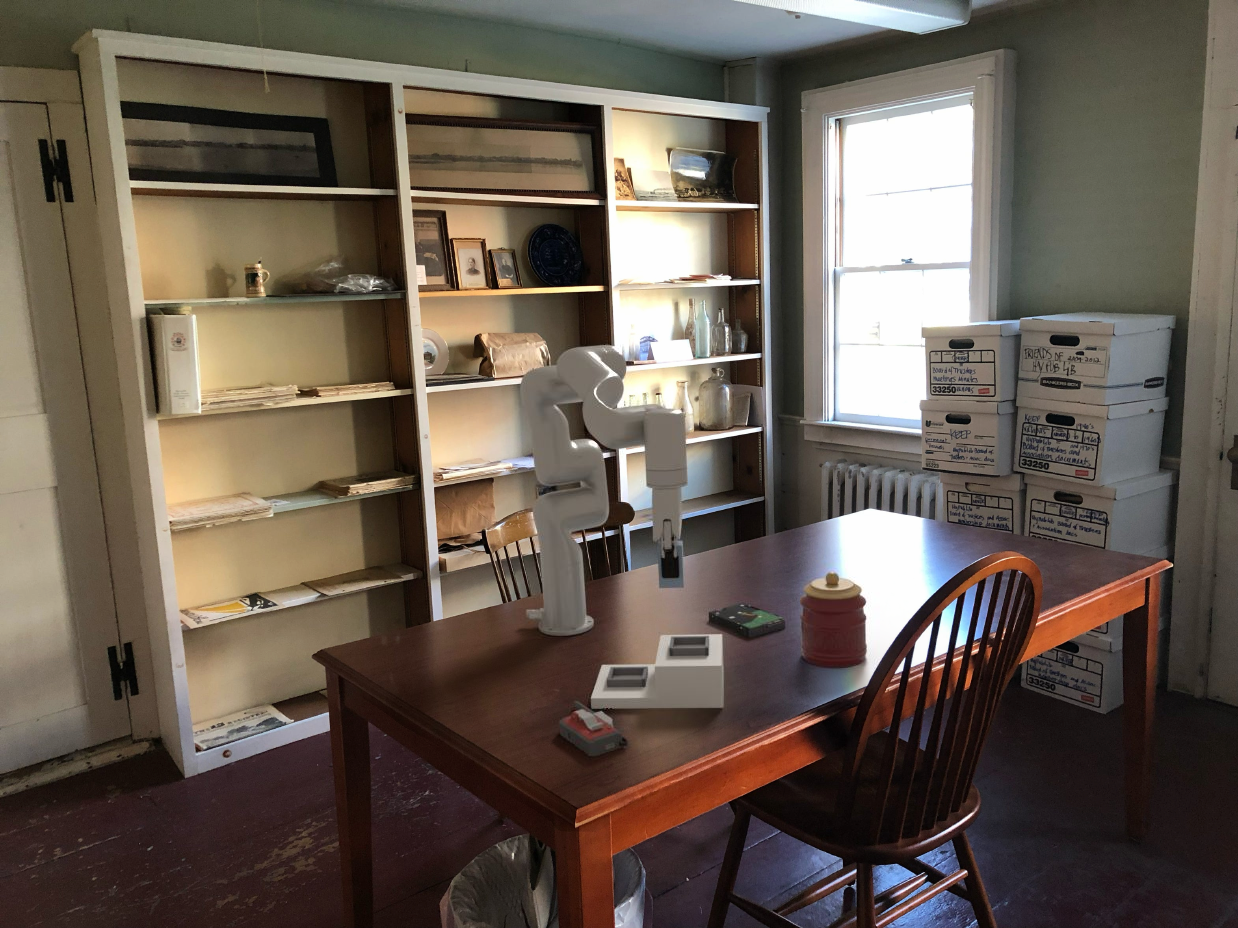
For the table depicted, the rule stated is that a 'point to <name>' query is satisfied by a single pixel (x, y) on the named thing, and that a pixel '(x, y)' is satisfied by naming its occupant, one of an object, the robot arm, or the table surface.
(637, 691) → the dock
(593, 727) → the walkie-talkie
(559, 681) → the table surface
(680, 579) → the plug
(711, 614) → the disk drive
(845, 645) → the canister
